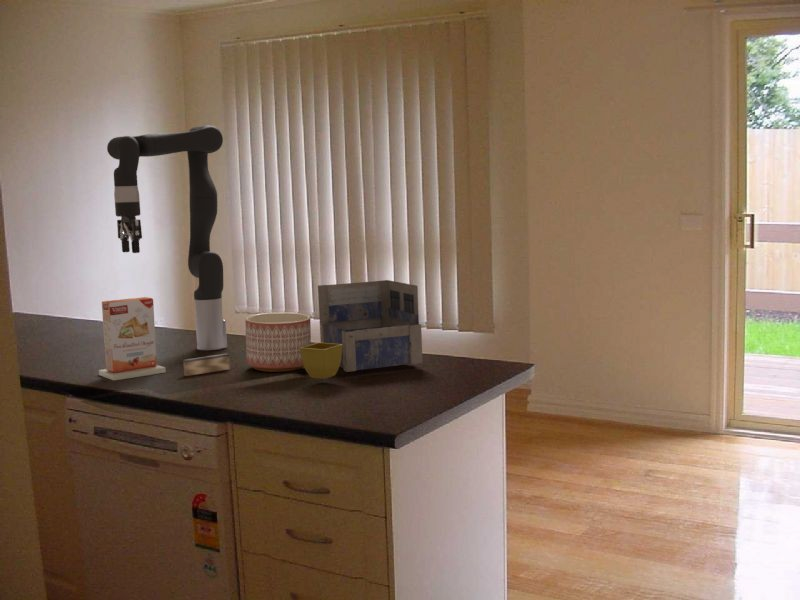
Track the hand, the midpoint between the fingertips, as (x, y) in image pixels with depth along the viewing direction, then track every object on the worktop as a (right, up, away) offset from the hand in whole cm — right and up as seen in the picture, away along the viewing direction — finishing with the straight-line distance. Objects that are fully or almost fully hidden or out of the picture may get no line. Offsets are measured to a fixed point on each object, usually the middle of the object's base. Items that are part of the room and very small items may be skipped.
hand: (130, 252), depth 298 cm
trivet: (+5, -37, -16) cm, 40 cm away
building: (+76, -34, -10) cm, 84 cm away
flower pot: (+63, -37, -32) cm, 80 cm away
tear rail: (+28, -36, -18) cm, 49 cm away
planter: (+49, -35, -15) cm, 62 cm away
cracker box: (+5, -36, -16) cm, 39 cm away
